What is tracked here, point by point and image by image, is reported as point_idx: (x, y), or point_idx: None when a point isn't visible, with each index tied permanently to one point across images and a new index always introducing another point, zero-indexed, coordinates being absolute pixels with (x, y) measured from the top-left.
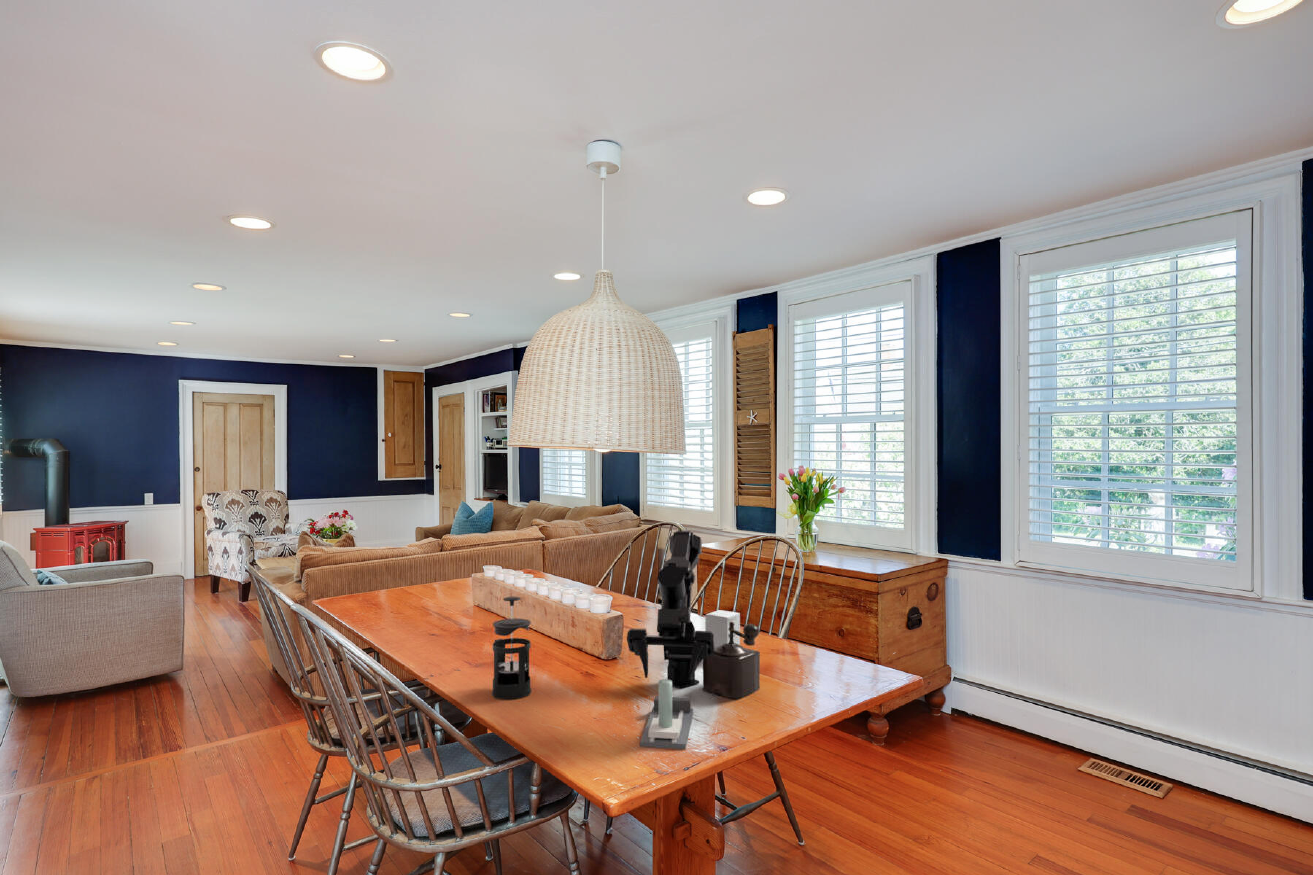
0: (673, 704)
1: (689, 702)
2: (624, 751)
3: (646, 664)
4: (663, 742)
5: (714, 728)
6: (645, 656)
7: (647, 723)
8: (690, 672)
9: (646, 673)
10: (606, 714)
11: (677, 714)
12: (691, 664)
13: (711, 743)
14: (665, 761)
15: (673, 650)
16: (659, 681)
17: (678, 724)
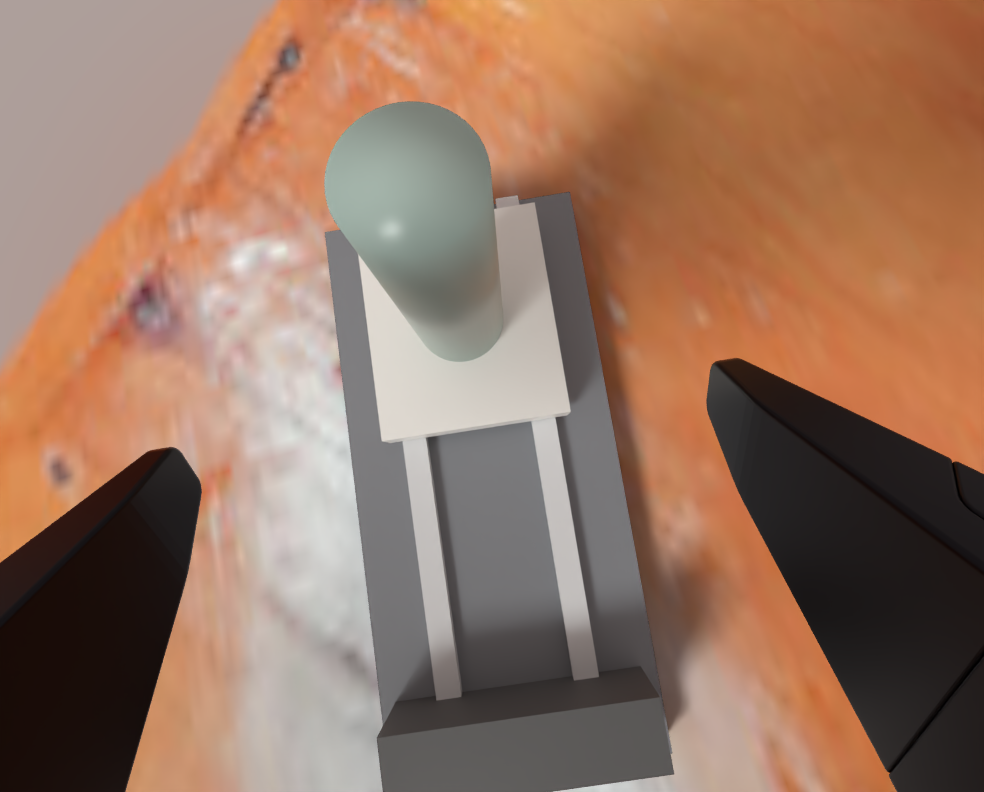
0: (506, 707)
1: (383, 732)
2: (625, 132)
3: (806, 431)
4: None
5: (228, 555)
6: (939, 512)
7: (612, 444)
8: (120, 484)
9: (729, 371)
10: None
11: (469, 647)
12: (36, 572)
13: (216, 349)
14: (398, 91)
15: None
16: (476, 159)
17: (383, 350)
